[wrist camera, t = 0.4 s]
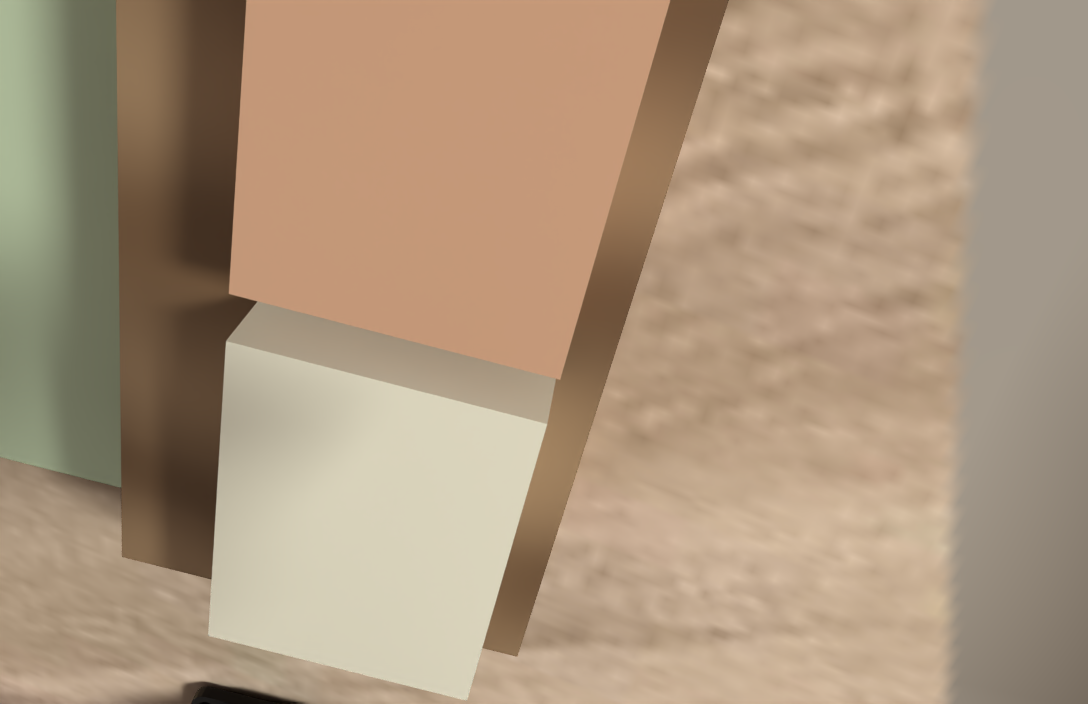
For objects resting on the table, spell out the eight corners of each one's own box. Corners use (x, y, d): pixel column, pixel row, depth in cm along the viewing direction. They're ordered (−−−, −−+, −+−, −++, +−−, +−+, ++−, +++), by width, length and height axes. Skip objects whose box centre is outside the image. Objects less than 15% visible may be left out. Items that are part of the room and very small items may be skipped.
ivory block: (481, 633, 23) (467, 700, 21) (242, 572, 23) (208, 635, 21) (558, 366, 19) (546, 423, 17) (266, 291, 19) (225, 341, 17)
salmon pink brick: (570, 325, 18) (559, 379, 17) (270, 246, 18) (228, 293, 17) (697, -121, 14) (701, -108, 13) (309, -227, 14) (260, -229, 12)
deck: (534, 558, 26) (517, 656, 23) (184, 468, 26) (122, 556, 23) (755, -153, 17) (773, -139, 14) (211, -302, 17) (112, -320, 14)
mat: (183, 495, 27) (178, 502, 26) (-130, 415, 26) (-138, 421, 26) (201, -12, 19) (195, -10, 19) (-232, -128, 19) (-244, -127, 19)
